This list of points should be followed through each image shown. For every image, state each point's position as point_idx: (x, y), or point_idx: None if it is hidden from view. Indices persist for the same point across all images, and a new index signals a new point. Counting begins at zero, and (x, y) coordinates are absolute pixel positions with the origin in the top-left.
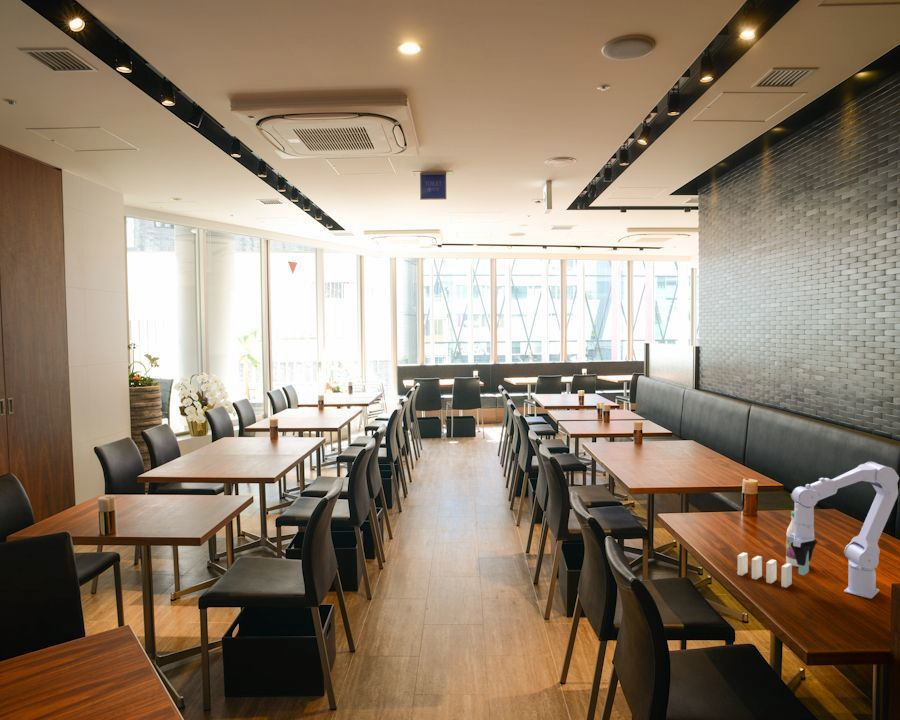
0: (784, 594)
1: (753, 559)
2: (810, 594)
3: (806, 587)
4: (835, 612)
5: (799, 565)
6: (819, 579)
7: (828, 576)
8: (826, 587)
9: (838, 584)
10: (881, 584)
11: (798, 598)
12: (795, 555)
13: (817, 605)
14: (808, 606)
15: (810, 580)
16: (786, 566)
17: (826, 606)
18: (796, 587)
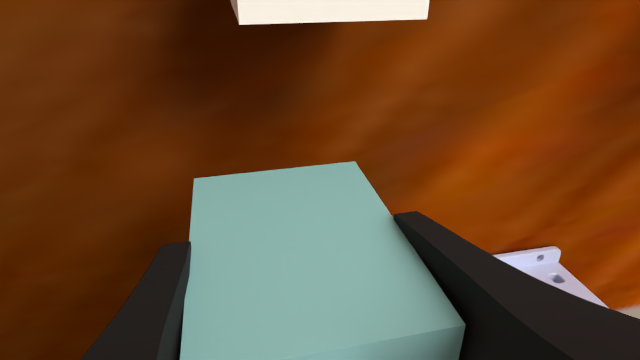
0: (58, 48)
1: None
2: (239, 173)
3: (352, 104)
4: (81, 355)
5: (191, 245)
6: (554, 103)
7: (632, 119)
8: (436, 183)
9: (524, 202)
10: (619, 304)
11: (85, 154)
12: (95, 343)
13: (86, 271)
14: (7, 250)
15: (506, 70)
16: (287, 5)
17: (123, 301)
18: (298, 55)
